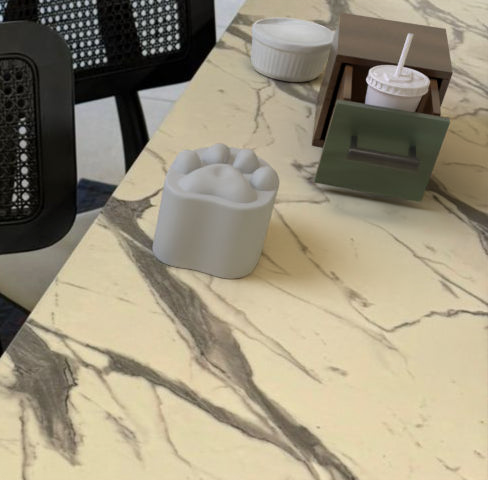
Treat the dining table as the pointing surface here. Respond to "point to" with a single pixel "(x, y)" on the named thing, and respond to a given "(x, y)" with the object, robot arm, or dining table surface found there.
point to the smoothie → (396, 84)
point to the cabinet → (380, 57)
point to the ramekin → (290, 48)
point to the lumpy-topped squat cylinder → (215, 211)
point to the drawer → (380, 141)
